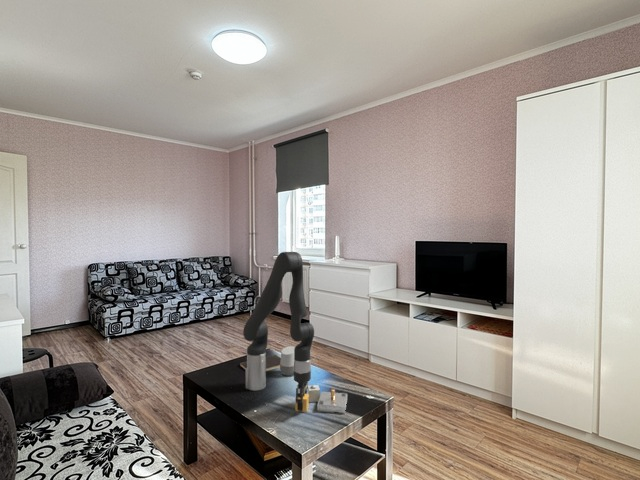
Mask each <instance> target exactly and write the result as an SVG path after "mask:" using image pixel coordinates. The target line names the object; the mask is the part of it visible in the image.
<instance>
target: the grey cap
mask: <svg viewBox="0 0 640 480" xmlns="http://www.w3.org/2000/svg"><path fill="white" fill-rule="evenodd" d="M307 394H309V403H318V401H319V398H320V395H321V389H320V386H319V384H312V385H308V389H307Z"/></svg>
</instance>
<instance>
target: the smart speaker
mask: <svg viewBox="0 0 640 480" xmlns="http://www.w3.org/2000/svg"><path fill="white" fill-rule="evenodd" d="M294 349H295V346H291V345H290V346H286V347H284V348H283V349H281V350H280V351H281V353H280V358H281V361H280V367H279V369H280V370H279V371H280V373H281V374H282V376H285V377H291V376H294Z"/></svg>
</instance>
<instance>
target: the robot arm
mask: <svg viewBox="0 0 640 480" xmlns="http://www.w3.org/2000/svg"><path fill="white" fill-rule="evenodd" d="M287 273H291V277H292V284H291V289H290V293H289V296H288V297H289V299H288V303H289V309H290V328H289V333H290V337H291V340H292V341H294V342H299V343H298V344H297V345H296V346H294V347H295V349H294V375H293V381H294V382H296V383H298V384H297V385H296V388H295V398H296V403H297V410H298V411H297V412H302V410H303V397H304V396H305V394H308V386H309V382H310V381H311V379H312V377H311V376H312V375H311V374H312V364H311V363H312V362H311V348H312V344H313V341H314V337H315V328H314V326H313V324H312V323H311V322H304V323H303V322H302V323H301V321H302V319H303V318H305V317H307V316H308V311H307V304H306V300H305V291H304V265H303V257H302V255H301V254H300V253H299V252H297V251H282V252H280V253H278V255H277V257H276V258H275V261H274V264H273V266H272V269H271V272H270V275H269V277H268V280H267V282H266V285H265V287H264V289H263V290H262V292H261V295H260V296H259V299H258V301H257V303H256V305H255V307H254V309H253V310H252V313H251V314H250V316H249V317H248V319H247V320H246V323H245V325H244V327H243V332H242V334H243V337H244V340H245V341H248V342H251V343H250V344H249V345H248V347H247V349H246V361H247V369H246V370H245V389H246V390H249V391H261V390H264V389H265V388H266V386H267V378H266V377H267V376H266V375H267V374H266V373H267V371H266V357H267V356H266V355H267V352H266V351H267V348H268V338H269V337H268V336H269V329H268V328H269V327H268V325H267V322H266V321H265V320H266V319H267V318H268V317H269V316H270V315H271V314H272V313H273V312H274V311H275V310H276V308H277V307H278V306H279V304H280V303H281V300H282V298H283V287H282V282H283V280H284V277H285V275H286V274H287ZM302 393H303V394H302ZM299 397H300V398H301V399H299Z"/></svg>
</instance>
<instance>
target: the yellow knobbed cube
mask: <svg viewBox="0 0 640 480" xmlns="http://www.w3.org/2000/svg"><path fill="white" fill-rule="evenodd" d="M302 394H303V393H302ZM294 399H295V401H294V402H295V403H294V405H295V408H294V410H295V412H299V411H298V410H297V403H296V397H295V398H294ZM299 399H301V398H300V397H299ZM309 403H310V402H309V394H308V393H307V394H305V396H304V397H303V410H302V411H301V412H303V413H307V412H308V410H309V407H310V404H309Z"/></svg>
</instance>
